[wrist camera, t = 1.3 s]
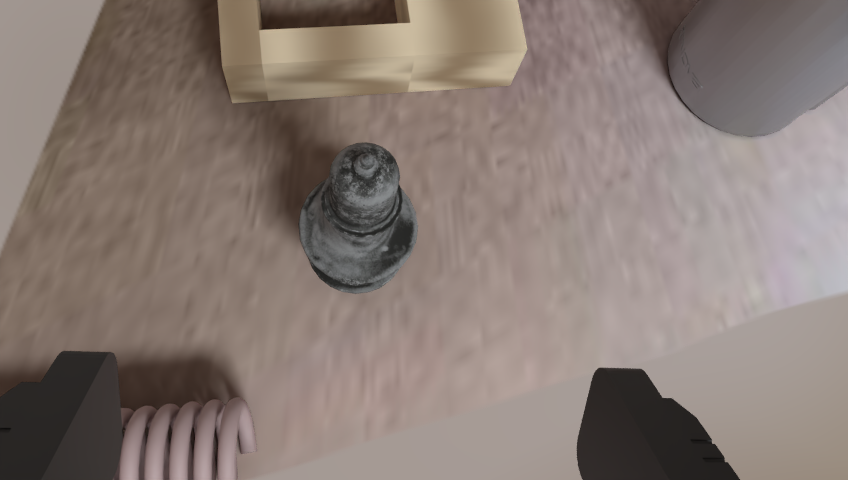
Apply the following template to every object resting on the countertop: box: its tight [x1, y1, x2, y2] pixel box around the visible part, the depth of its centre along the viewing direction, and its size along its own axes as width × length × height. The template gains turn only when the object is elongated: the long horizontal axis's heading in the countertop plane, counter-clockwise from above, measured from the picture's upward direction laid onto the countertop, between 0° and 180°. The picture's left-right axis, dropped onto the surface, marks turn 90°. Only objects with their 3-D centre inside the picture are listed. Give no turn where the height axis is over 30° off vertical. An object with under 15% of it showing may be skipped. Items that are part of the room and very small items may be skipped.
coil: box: [113, 397, 257, 480], centre depth 32 cm, size 5×5×18 cm
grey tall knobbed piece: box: [299, 143, 418, 294], centre depth 33 cm, size 6×6×12 cm
